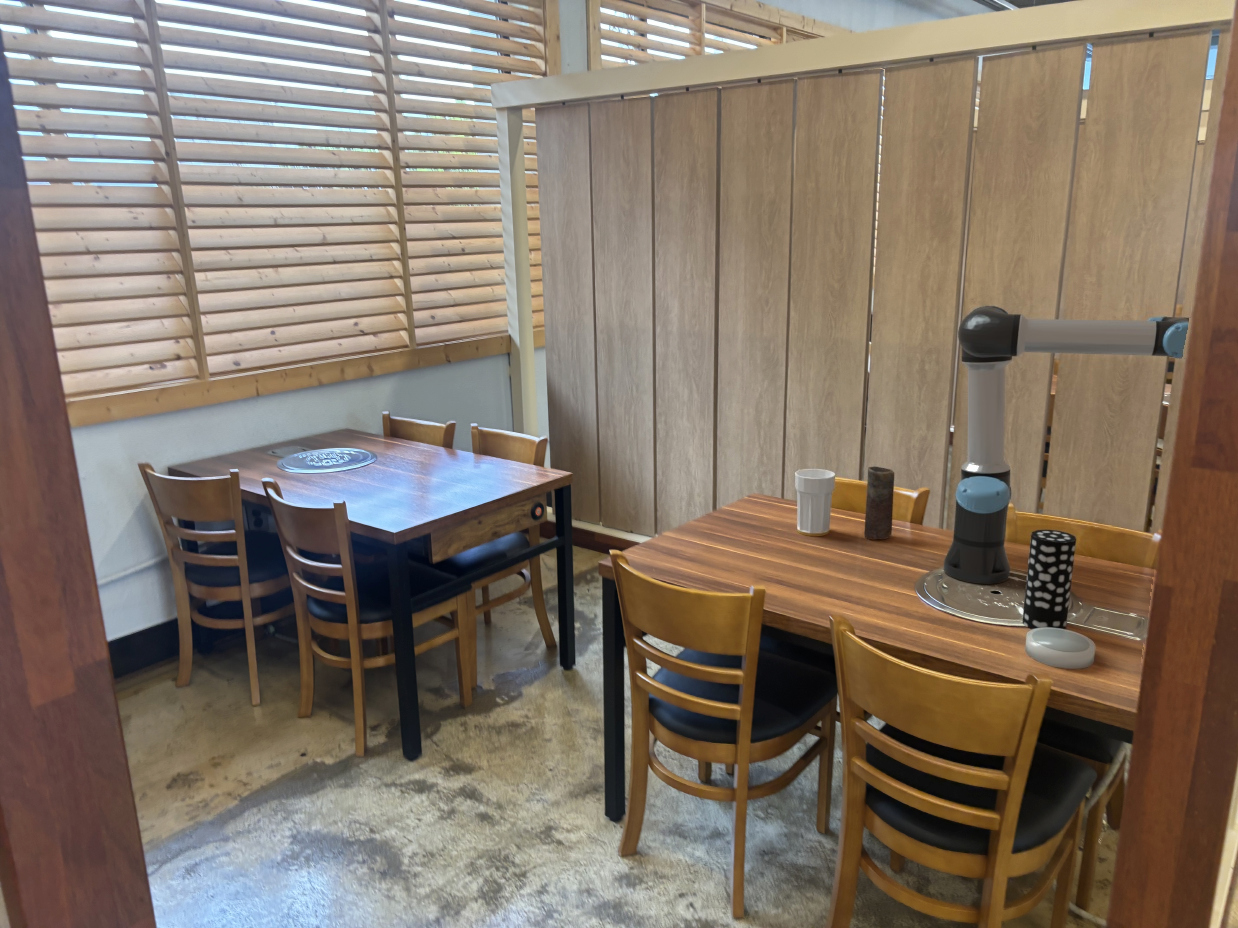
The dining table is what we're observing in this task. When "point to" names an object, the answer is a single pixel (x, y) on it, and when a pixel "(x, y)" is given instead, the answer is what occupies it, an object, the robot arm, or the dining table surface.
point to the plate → (1060, 648)
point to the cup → (814, 501)
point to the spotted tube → (1049, 579)
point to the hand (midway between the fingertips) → (1206, 470)
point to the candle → (879, 503)
